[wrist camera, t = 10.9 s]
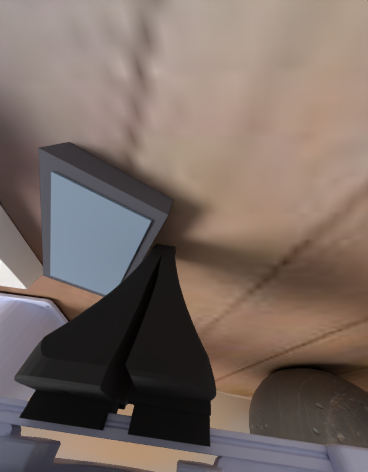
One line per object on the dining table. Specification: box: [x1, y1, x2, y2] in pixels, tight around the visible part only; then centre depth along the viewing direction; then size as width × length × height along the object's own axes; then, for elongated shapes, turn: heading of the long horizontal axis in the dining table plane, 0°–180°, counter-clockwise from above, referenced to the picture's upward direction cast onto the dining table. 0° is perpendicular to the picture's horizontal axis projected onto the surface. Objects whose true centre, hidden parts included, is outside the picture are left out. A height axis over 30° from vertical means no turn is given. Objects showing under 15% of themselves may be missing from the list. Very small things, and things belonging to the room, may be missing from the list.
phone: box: [39, 142, 173, 297], centre depth 11 cm, size 10×6×2 cm, turn 151°
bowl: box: [249, 368, 368, 449], centre depth 21 cm, size 18×18×13 cm
